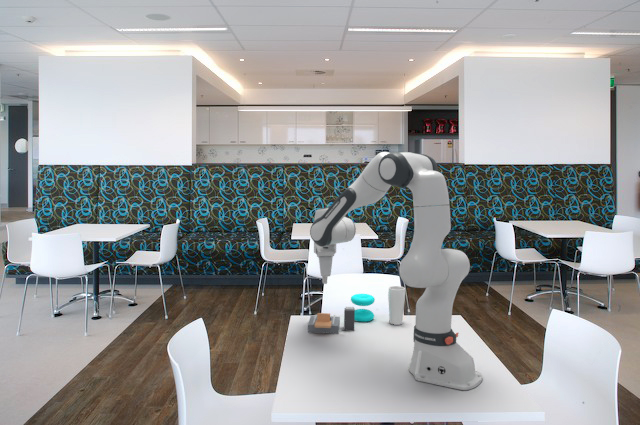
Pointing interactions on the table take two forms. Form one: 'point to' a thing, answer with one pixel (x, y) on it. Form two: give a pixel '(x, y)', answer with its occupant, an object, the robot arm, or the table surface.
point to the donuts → (363, 300)
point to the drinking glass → (396, 304)
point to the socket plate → (333, 328)
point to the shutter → (323, 320)
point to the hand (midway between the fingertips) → (324, 282)
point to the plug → (349, 318)
